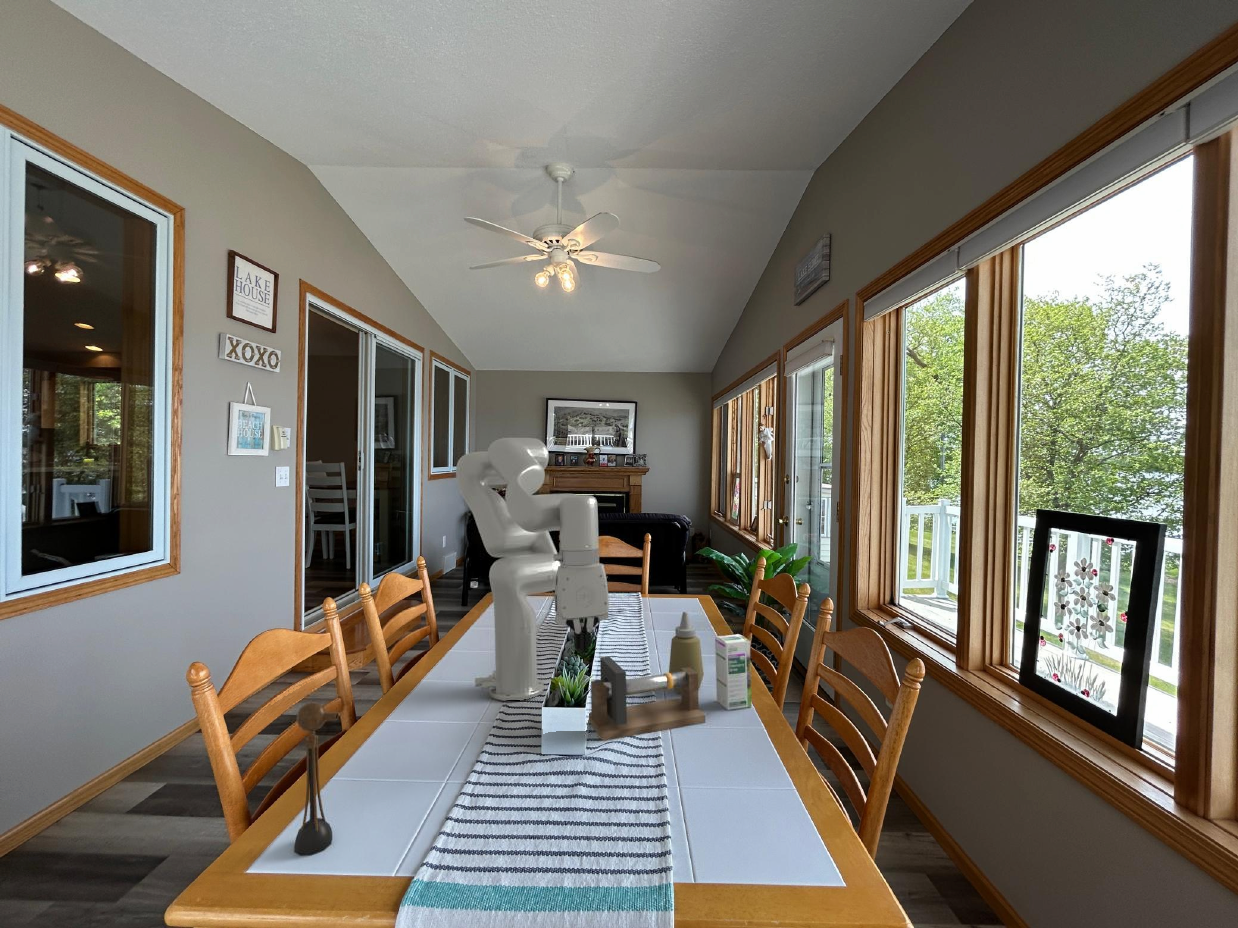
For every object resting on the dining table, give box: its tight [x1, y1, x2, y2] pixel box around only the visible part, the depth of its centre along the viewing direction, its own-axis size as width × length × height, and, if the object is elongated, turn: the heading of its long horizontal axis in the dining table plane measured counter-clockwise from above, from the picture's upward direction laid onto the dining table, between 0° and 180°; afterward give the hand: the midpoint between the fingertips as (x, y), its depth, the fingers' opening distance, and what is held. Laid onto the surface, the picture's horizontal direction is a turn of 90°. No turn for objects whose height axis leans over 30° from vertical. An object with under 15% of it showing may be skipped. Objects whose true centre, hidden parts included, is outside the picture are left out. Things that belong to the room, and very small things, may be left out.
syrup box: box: [714, 633, 752, 711], centre depth 130 cm, size 6×6×14 cm
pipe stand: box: [588, 667, 706, 742], centre depth 122 cm, size 22×10×9 cm, turn 110°
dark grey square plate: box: [599, 656, 627, 725], centre depth 120 cm, size 2×10×10 cm, turn 19°
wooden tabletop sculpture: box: [293, 701, 339, 857], centre depth 84 cm, size 6×5×20 cm
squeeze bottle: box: [668, 611, 705, 694], centre depth 139 cm, size 8×8×18 cm
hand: (582, 651), depth 117 cm, fingers closed
